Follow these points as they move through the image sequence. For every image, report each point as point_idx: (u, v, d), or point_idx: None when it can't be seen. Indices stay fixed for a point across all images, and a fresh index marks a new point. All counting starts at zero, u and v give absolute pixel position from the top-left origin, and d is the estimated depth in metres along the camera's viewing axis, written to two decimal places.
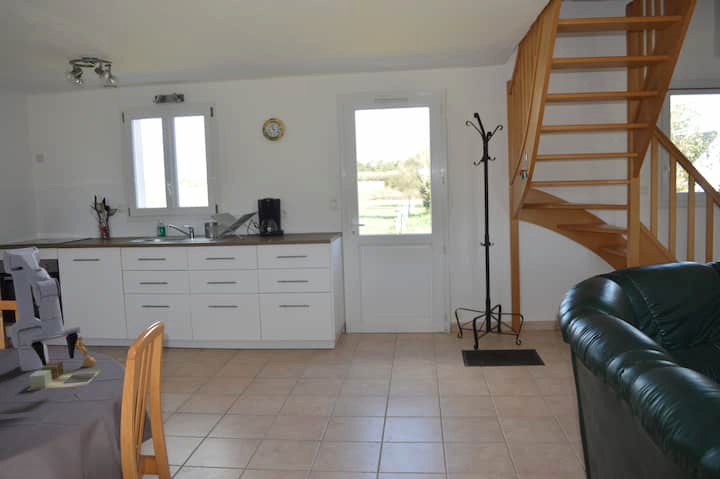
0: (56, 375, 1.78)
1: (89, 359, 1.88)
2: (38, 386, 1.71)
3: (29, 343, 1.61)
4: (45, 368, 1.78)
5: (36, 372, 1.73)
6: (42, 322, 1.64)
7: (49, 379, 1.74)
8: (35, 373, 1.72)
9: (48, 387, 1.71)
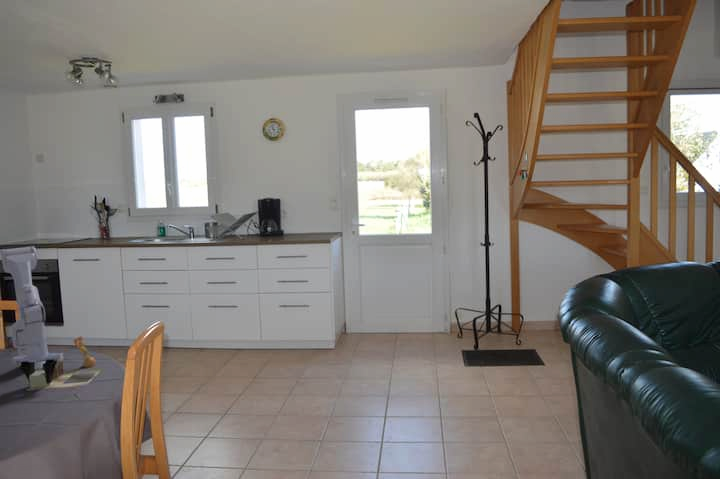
0: (56, 375, 1.78)
1: (89, 359, 1.88)
2: (38, 386, 1.71)
3: (13, 363, 1.70)
4: None
5: (36, 372, 1.73)
6: (26, 345, 1.70)
7: None
8: (35, 373, 1.72)
9: (48, 387, 1.71)
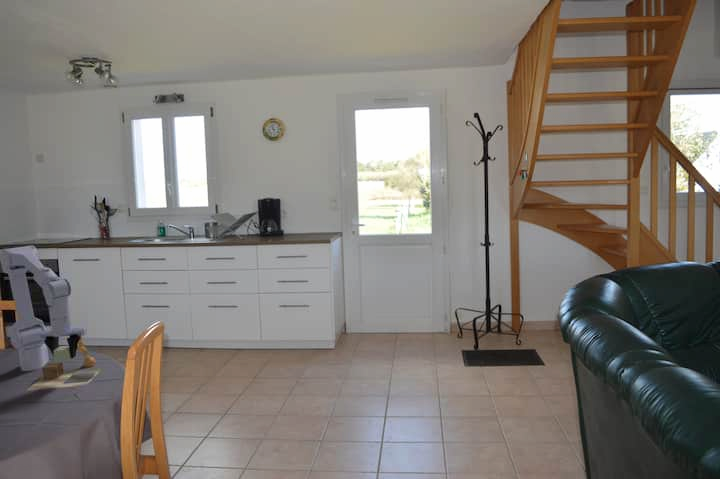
0: (56, 375, 1.78)
1: (89, 359, 1.88)
2: (62, 361, 1.73)
3: (38, 337, 1.72)
4: (45, 368, 1.78)
5: (60, 347, 1.75)
6: (50, 320, 1.72)
7: None
8: (59, 348, 1.74)
9: (48, 387, 1.71)
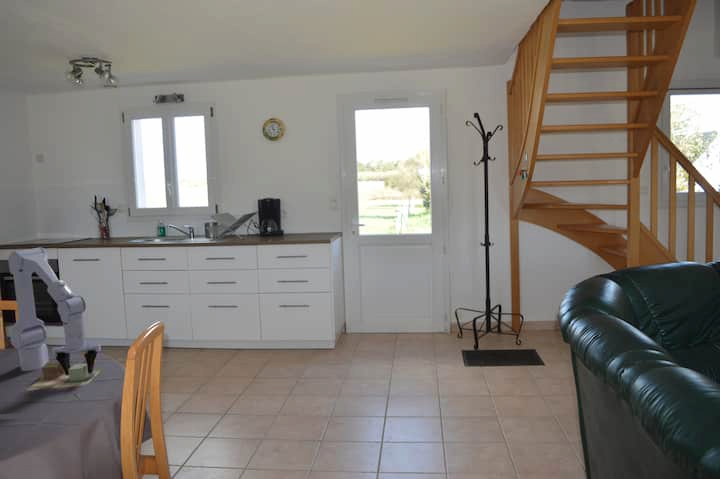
0: (56, 375, 1.78)
1: None
2: (77, 379, 1.75)
3: (53, 353, 1.75)
4: (45, 368, 1.78)
5: (74, 365, 1.78)
6: (65, 336, 1.74)
7: (87, 372, 1.78)
8: (74, 366, 1.77)
9: (48, 387, 1.71)
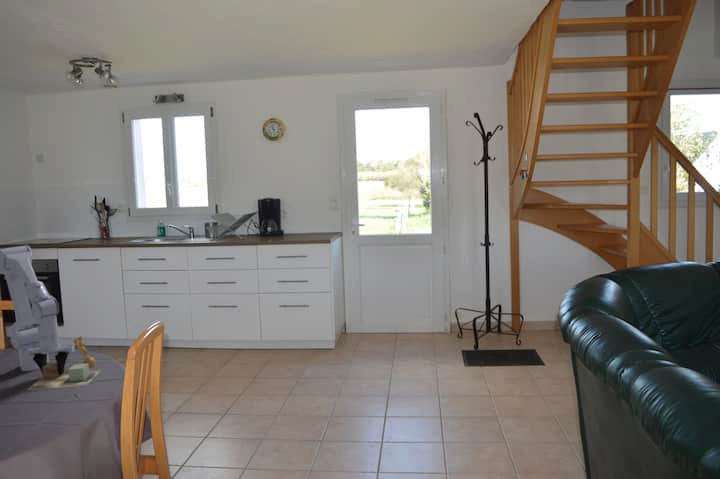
0: (56, 375, 1.78)
1: (89, 359, 1.88)
2: (77, 379, 1.75)
3: (27, 354, 1.78)
4: (45, 368, 1.78)
5: (74, 365, 1.78)
6: (39, 338, 1.77)
7: (87, 372, 1.78)
8: (74, 366, 1.77)
9: (48, 387, 1.71)
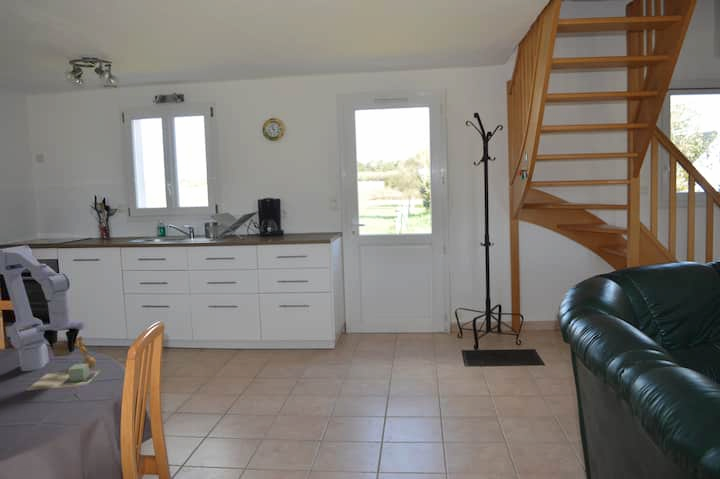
0: (67, 352, 1.75)
1: (89, 359, 1.88)
2: (77, 379, 1.75)
3: (37, 331, 1.75)
4: (55, 345, 1.75)
5: (74, 365, 1.78)
6: (49, 314, 1.75)
7: (87, 372, 1.78)
8: (74, 366, 1.77)
9: (48, 387, 1.71)
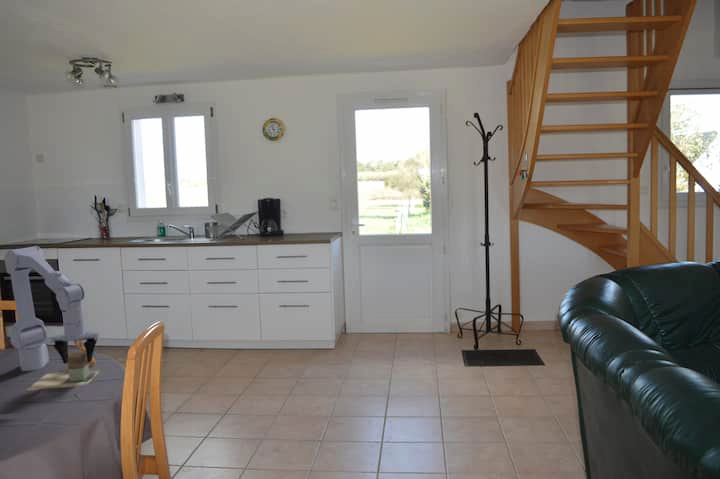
0: (81, 365, 1.75)
1: None
2: (77, 379, 1.75)
3: (51, 341, 1.74)
4: (70, 358, 1.74)
5: None
6: None
7: (87, 372, 1.78)
8: None
9: (48, 387, 1.71)
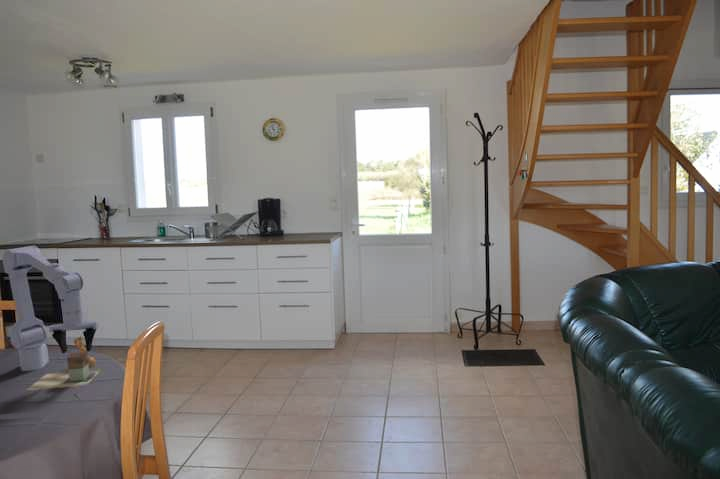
0: (81, 365, 1.75)
1: (89, 359, 1.88)
2: (77, 379, 1.75)
3: (50, 331, 1.73)
4: (70, 358, 1.74)
5: None
6: None
7: (87, 372, 1.78)
8: None
9: (48, 387, 1.71)
